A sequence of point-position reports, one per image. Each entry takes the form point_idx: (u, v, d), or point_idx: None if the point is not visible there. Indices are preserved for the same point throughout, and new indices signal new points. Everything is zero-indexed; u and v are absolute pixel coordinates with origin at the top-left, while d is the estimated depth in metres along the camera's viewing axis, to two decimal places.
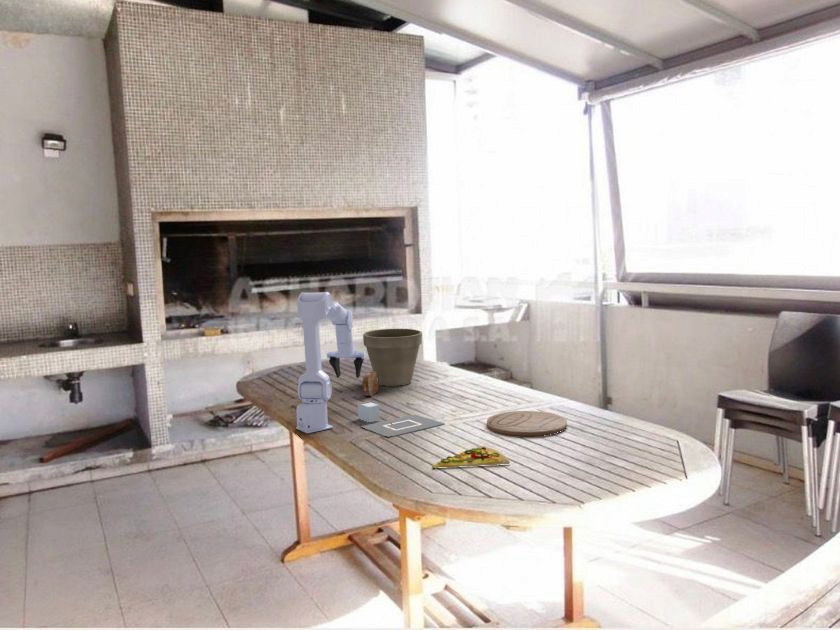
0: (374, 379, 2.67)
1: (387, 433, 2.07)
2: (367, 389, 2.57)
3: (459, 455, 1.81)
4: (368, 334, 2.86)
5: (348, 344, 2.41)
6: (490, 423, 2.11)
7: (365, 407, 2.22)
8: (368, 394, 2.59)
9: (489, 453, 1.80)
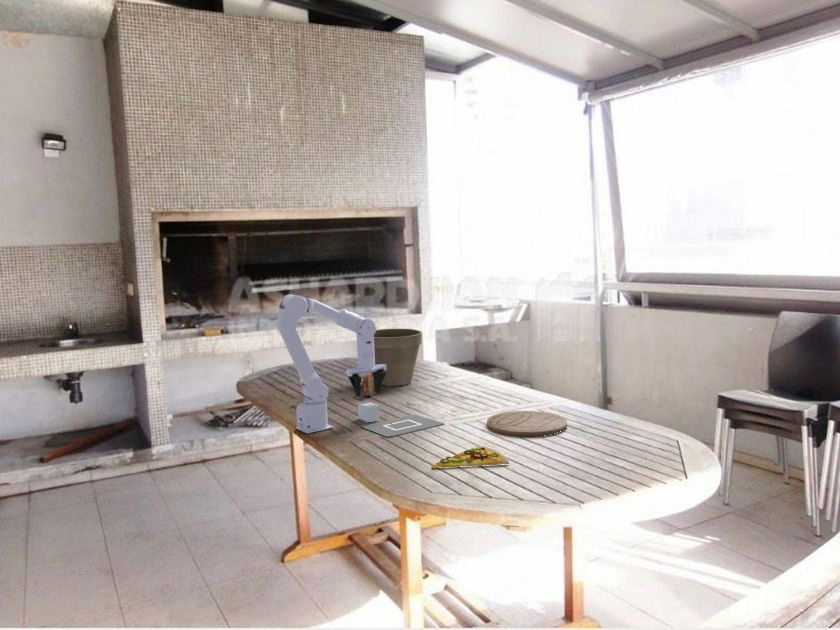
0: None
1: (387, 433, 2.07)
2: (367, 389, 2.57)
3: (458, 455, 1.80)
4: None
5: None
6: (490, 423, 2.11)
7: (365, 407, 2.22)
8: (368, 394, 2.59)
9: (488, 453, 1.80)
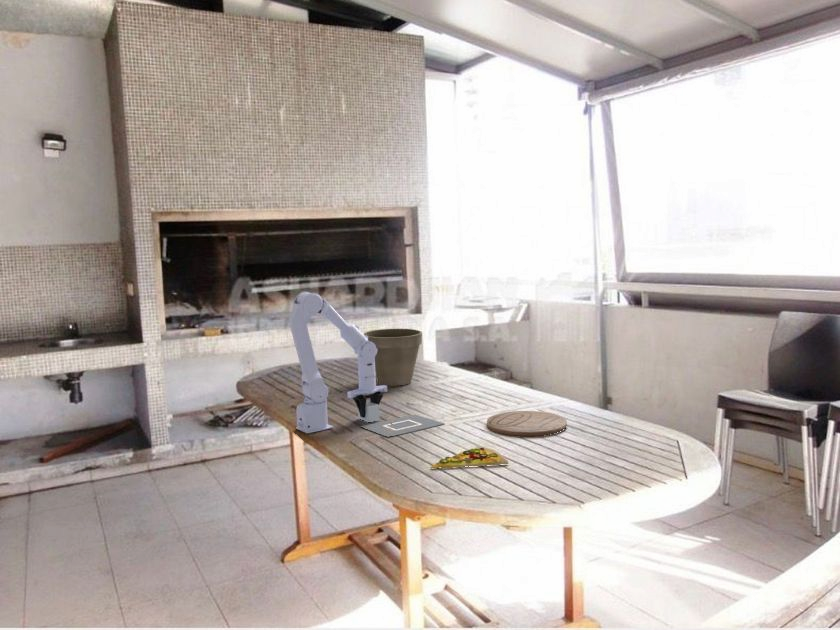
0: None
1: (387, 433, 2.07)
2: None
3: (457, 455, 1.80)
4: (368, 334, 2.86)
5: None
6: (490, 423, 2.11)
7: (365, 407, 2.22)
8: (368, 394, 2.59)
9: (487, 453, 1.80)
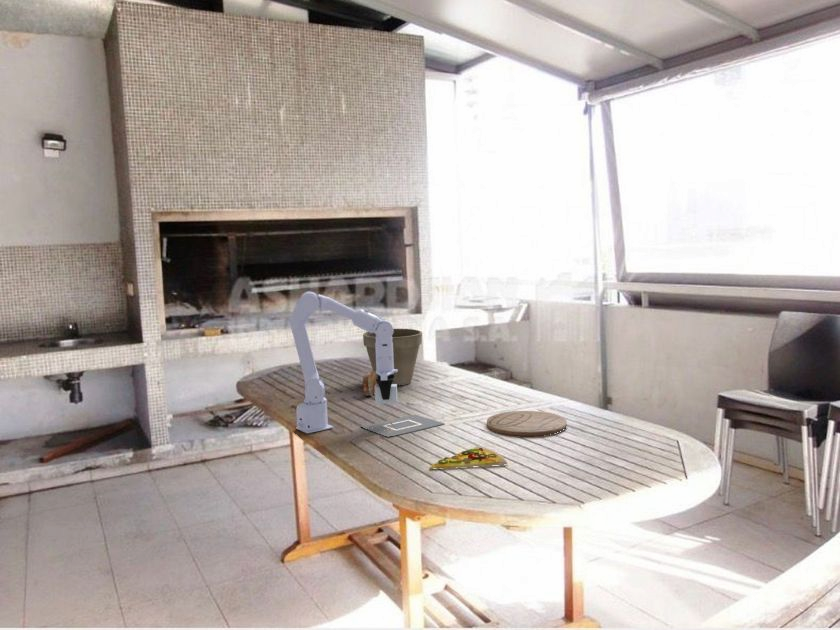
0: (374, 379, 2.67)
1: (387, 433, 2.07)
2: (367, 389, 2.57)
3: (456, 456, 1.80)
4: (368, 334, 2.86)
5: (378, 359, 2.16)
6: (490, 423, 2.11)
7: None
8: (368, 394, 2.59)
9: (486, 454, 1.80)
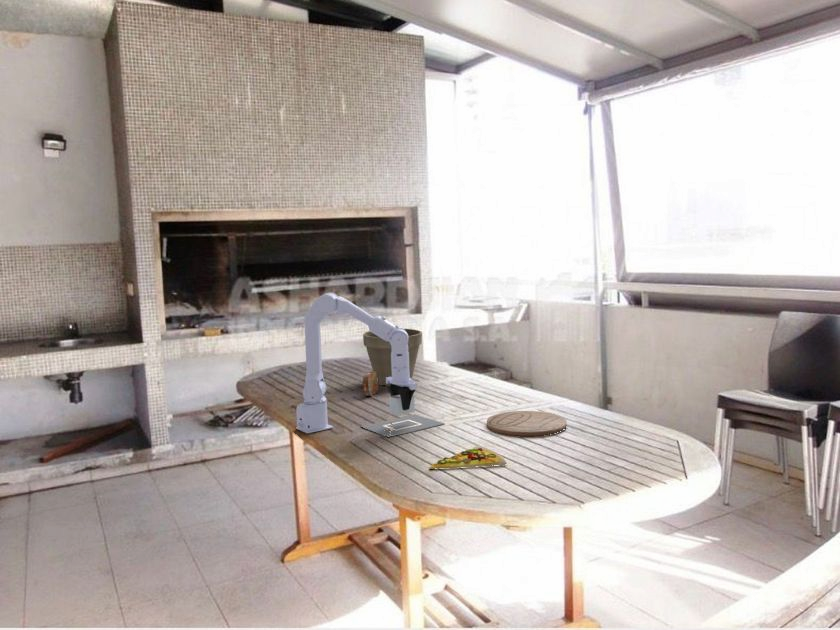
0: (374, 379, 2.67)
1: (387, 433, 2.07)
2: (367, 389, 2.57)
3: (456, 456, 1.80)
4: (368, 334, 2.86)
5: (399, 370, 2.12)
6: (490, 423, 2.11)
7: None
8: (368, 394, 2.59)
9: (486, 454, 1.80)
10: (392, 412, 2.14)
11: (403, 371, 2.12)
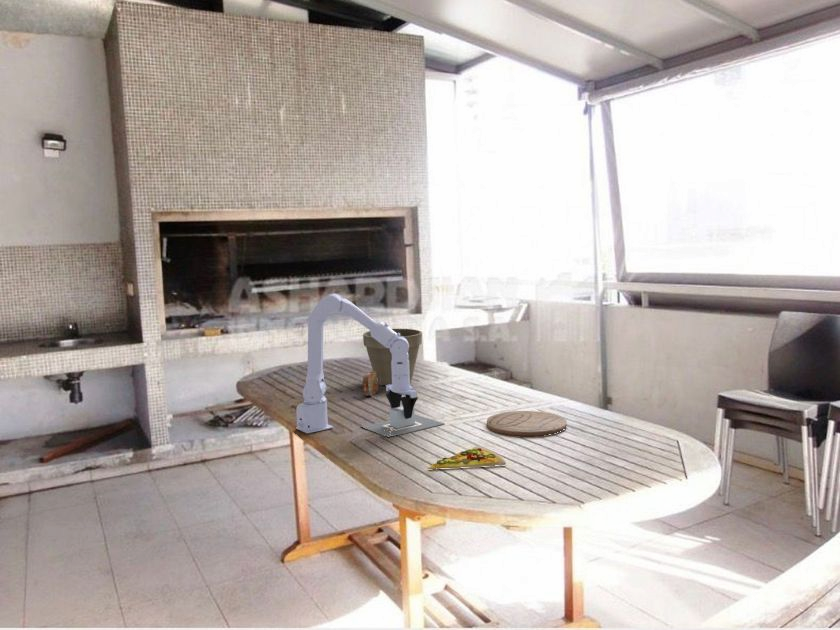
0: (374, 379, 2.67)
1: (387, 433, 2.07)
2: (367, 389, 2.57)
3: (455, 456, 1.80)
4: (368, 334, 2.86)
5: (399, 378, 2.12)
6: (490, 423, 2.11)
7: None
8: (368, 394, 2.59)
9: (485, 454, 1.79)
10: (392, 424, 2.15)
11: (403, 379, 2.12)
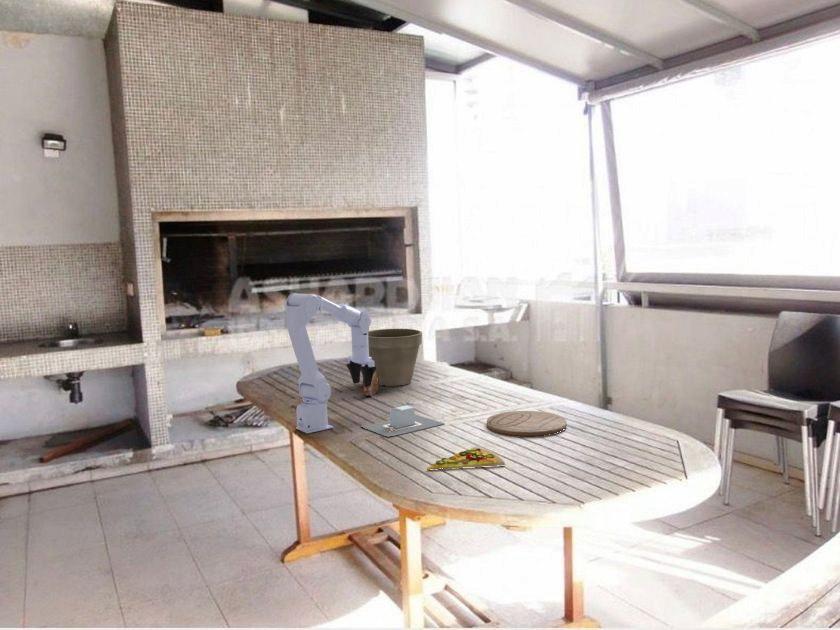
0: (374, 379, 2.67)
1: (387, 433, 2.07)
2: (367, 389, 2.57)
3: (454, 457, 1.79)
4: (368, 334, 2.86)
5: (358, 348, 2.28)
6: (490, 423, 2.11)
7: (409, 410, 2.15)
8: (368, 394, 2.59)
9: (484, 454, 1.79)
10: (392, 424, 2.15)
11: (362, 350, 2.28)
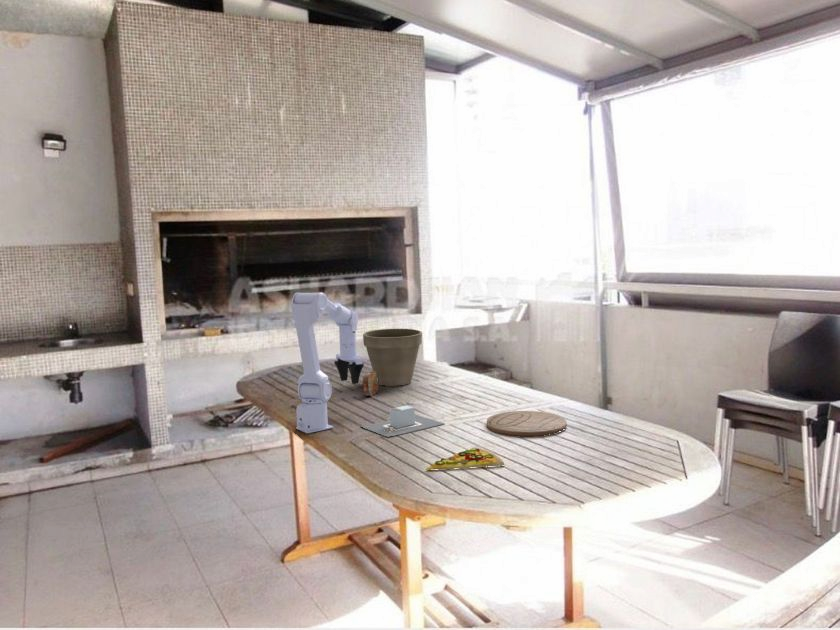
0: (374, 379, 2.67)
1: (387, 433, 2.07)
2: (367, 389, 2.57)
3: (453, 457, 1.79)
4: (368, 334, 2.86)
5: (346, 346, 2.33)
6: (490, 423, 2.11)
7: (409, 410, 2.15)
8: (368, 394, 2.59)
9: (483, 454, 1.79)
10: (392, 424, 2.15)
11: (350, 348, 2.33)
